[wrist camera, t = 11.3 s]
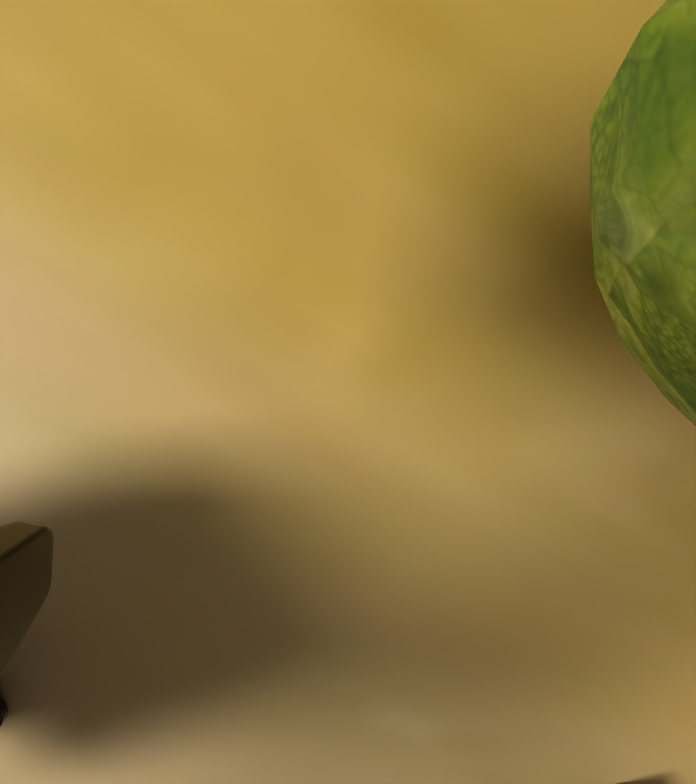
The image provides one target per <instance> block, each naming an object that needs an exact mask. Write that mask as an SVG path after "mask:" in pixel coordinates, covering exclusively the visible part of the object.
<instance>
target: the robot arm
mask: <svg viewBox="0 0 696 784" xmlns="http://www.w3.org/2000/svg"><path fill="white" fill-rule="evenodd" d="M52 554H53V532H52V530H51V528H50V527H49V526H47V525H42V524H37V523H32V522H27V521H16V522H13V523H10V524H7V525H4V526H1V527H0V678H1V676H2V674H3V673H4V671H5V669H6V667H7V666H8V664H9V662H10V660H11V659H12V657H13V655H14V653H15V652H16V650H17V648H18V646H19V644H20V643H21V641H22V639H23V637H24V636H25V634H26V632H27V630H28V629H29V627H30V625H31V623H32V622H33V620H34V618H35V616H36V614H37V613H38V611H39V609H40V607H41V606H42V604H43V602H44V600H45V598H46V596H47V594H48V591H49V588H50V584H51V574H52ZM7 715H8V708H7V705H6V703H5V702H4V700H3V698H2V697H1V695H0V726H1V725H2V723H3V721H4V720H5V718H6V716H7Z"/></svg>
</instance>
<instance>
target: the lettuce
mask: <svg viewBox="0 0 696 784" xmlns="http://www.w3.org/2000/svg"><path fill="white" fill-rule="evenodd" d="M590 212H591V230H592V247H593V264H594V277H595V280H596V282H597V284H598V287H599V289H600V291H601V294H602V296H603V299H604V301H605V303H606V306H607V308H608V310H609V313H610V315H611V317H612V320H613V322H614V325H615V327H616V329H617V332H618V334H619V336H620V339H621V340H622V341H623V343H624V344H625V345H626V347H627V348H628V349H629V350H630V352H631V353H632V354H633V356H634V357H635V358H636V359H637V361H638V362H639V363H640V365H641V366H642V367H643V369H644V370H645V371H646V372H647V374H648V375H649V376H650V378H651V379H652V380H653V382H654V383H655V384H656V385H657V387H658V388H659V389H660V391H661V392H662V393H663V395H664V396H665V397H666V398H667V400H668V401H669V402H670V403H672V404H673V405H674V406H675V407H676V408H677V409H678V410H679V411H680V412H681V413H683V414H684V415H685V416H686V417H687V418H688V419H689V420H690V421H691V422H692V423H694V424H695V425H696V0H667V1H666V2H665V3H664V4H663V5H662V6H661V7H660V9H659V10H658V11H657V12H656V13H655V14H654V15H653V16H652V17H651V18H650V19H649V20H648V21H647V22H646V23H645V24H644V25H643V26H642V28H641V30H640V32H639V34H638V35H637V37H636V39H635V41H634V43H633V45H632V47H631V48H630V50H629V52H628V54H627V56H626V58H625V59H624V61H623V63H622V65H621V67H620V69H619V71H618V72H617V74H616V76H615V78H614V80H613V82H612V84H611V85H610V87H609V89H608V91H607V93H606V95H605V96H604V98H603V100H602V102H601V104H600V106H599V108H598V109H597V111H596V113H595V115H594V117H593V119H592V121H591V175H590Z"/></svg>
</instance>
